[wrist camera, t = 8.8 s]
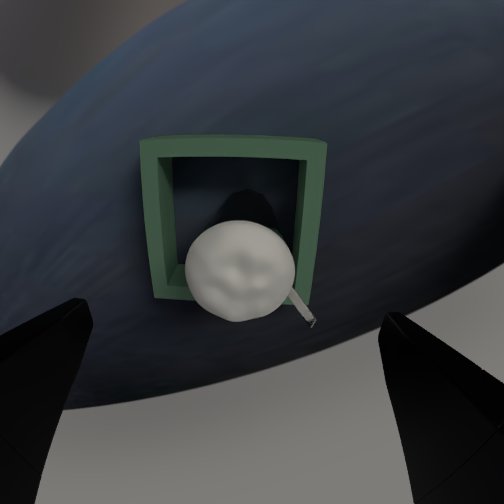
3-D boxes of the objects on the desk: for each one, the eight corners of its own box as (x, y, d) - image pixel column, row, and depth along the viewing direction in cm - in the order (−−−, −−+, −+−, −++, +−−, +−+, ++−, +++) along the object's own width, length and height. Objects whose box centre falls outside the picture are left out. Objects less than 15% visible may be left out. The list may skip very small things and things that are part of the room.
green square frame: (316, 138, 18) (327, 143, 15) (302, 281, 22) (308, 304, 19) (156, 136, 18) (139, 140, 15) (165, 275, 22) (154, 297, 19)
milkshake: (277, 257, 21) (288, 363, 12) (203, 232, 21) (163, 326, 11) (304, 198, 19) (342, 276, 10) (225, 169, 19) (191, 223, 10)
